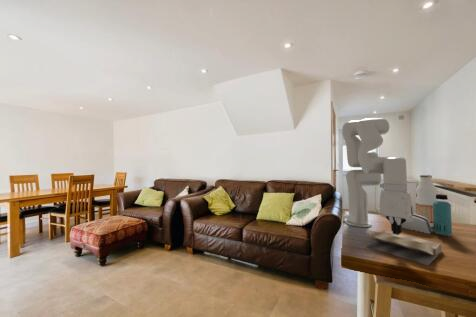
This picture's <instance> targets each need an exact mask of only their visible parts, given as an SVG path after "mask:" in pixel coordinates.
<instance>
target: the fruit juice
mask: <svg viewBox="0 0 476 317" xmlns="http://www.w3.org/2000/svg"><path fill="white" fill-rule="evenodd" d="M419 178H420V181H419V182H418V185H417V186H416V187H415V194H416V196H415V214H417V215H420V216H423V217H426V218H427V219H428V221H429V224H430V227H434V225H433V223H434V217H433V203H434V202H435V201H439V199H436V194H438V192H439V190H438V189H437V188H436V186H435V185H434V182H433V180H432V179H433V175H431V174H420V175H419Z"/></svg>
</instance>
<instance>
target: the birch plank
mask: <svg viewBox="0 0 476 317" xmlns="http://www.w3.org/2000/svg"><path fill="white" fill-rule="evenodd" d="M379 232H380V231H374V230H369V233H368V234H369V235H368V237H371V238H372V239H374V240H379V241H383V242H387V243H390V244H394V245H398V246H401V247H405V248H409V249H412V250H416V251H420V252H423V253H427V254H430V255H433V251H434V248H432V247H431V246H429V245H428V244H424V243H420V242H416V241H412V240H408V239H404V238H400V237H396V236H392V235H388V234H384V233H379Z"/></svg>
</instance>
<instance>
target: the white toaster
mask: <svg viewBox="0 0 476 317" xmlns="http://www.w3.org/2000/svg"><path fill="white" fill-rule="evenodd" d="M412 217H413V221H412V222H404V223H403V224H402V229H404V228H405V229H406V230H409V229H410V230H409V231H413V230H415V231H414V232H418V231H420V233H423V232H424V234H427V233H428V234H429V235H430V234H431V233H433V228H431V227H430V224H429V221H428V219H427V218H426V217H423V216H420V215H417V214H416V213H413V216H412ZM395 219H396V223H397V217H395Z"/></svg>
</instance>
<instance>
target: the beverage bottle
mask: <svg viewBox="0 0 476 317" xmlns="http://www.w3.org/2000/svg"><path fill="white" fill-rule="evenodd" d="M436 199H438V201H435V202H434V203H433V217H434V223H433V225H434V228H432V230H433V231H434V233H436V234H439V235H443V236H451V235H453V227H452V226H453V224H452V204H451V203H449V202H448V201H446V200H448V199H449V198H448V195H447V194H442V193H439V194H436Z"/></svg>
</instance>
